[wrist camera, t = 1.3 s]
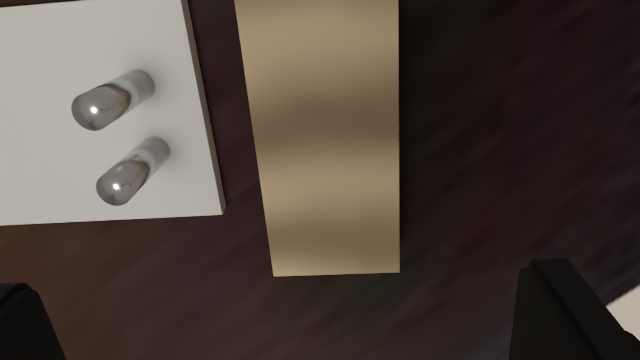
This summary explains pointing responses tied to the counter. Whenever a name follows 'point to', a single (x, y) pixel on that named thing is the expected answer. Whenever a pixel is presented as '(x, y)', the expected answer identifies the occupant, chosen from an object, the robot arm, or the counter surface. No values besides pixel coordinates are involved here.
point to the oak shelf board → (325, 131)
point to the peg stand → (103, 114)
